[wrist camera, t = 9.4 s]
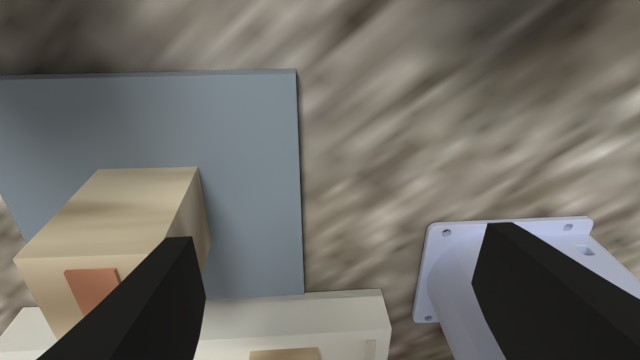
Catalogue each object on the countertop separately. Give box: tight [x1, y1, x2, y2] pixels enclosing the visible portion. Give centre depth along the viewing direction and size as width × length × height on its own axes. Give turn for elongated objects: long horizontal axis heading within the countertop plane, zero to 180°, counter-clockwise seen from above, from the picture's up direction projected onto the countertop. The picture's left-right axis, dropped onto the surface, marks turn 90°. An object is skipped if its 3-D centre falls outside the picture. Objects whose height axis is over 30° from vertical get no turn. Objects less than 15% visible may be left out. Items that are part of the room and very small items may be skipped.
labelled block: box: [13, 167, 212, 341], centre depth 16 cm, size 4×4×6 cm
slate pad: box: [0, 69, 304, 300], centre depth 19 cm, size 14×13×1 cm
